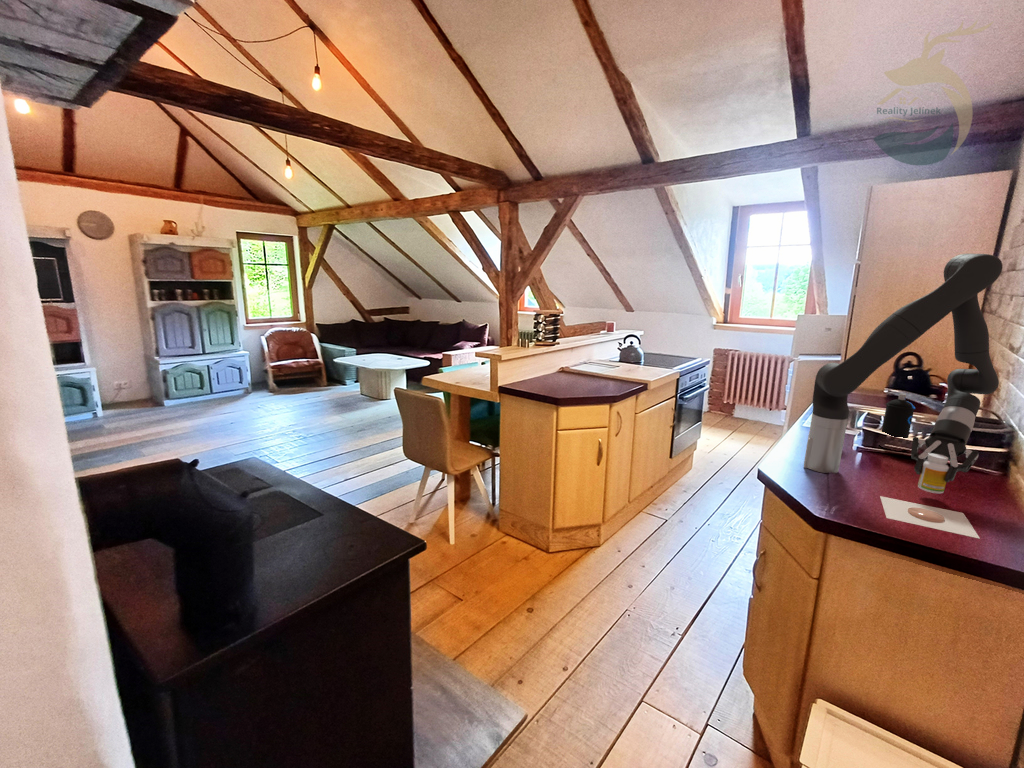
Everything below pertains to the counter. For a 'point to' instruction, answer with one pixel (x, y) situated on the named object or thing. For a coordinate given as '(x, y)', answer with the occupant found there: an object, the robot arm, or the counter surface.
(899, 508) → the mat
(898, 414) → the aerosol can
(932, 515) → the coaster
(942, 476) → the supplement bottle
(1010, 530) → the counter surface
